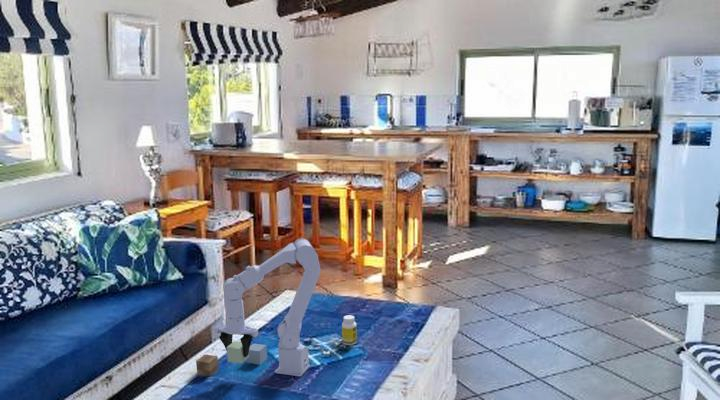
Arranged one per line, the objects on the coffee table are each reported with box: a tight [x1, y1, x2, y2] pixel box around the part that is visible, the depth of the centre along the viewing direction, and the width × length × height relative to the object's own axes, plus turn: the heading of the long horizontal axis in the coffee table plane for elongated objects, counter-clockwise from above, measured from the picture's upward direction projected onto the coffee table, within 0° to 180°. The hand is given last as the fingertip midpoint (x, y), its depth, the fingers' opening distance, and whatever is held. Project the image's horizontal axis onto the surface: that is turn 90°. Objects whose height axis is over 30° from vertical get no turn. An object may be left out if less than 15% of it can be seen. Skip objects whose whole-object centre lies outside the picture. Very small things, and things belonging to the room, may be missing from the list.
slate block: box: [246, 343, 268, 366], centre depth 213 cm, size 5×5×5 cm
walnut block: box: [195, 353, 219, 378], centre depth 205 cm, size 5×5×5 cm
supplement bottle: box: [341, 314, 358, 346], centre depth 224 cm, size 5×5×10 cm
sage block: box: [226, 340, 249, 365], centre depth 200 cm, size 5×5×5 cm
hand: (238, 354), depth 201 cm, fingers closed on sage block, 5 cm apart
